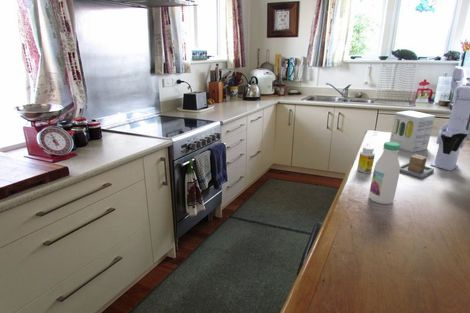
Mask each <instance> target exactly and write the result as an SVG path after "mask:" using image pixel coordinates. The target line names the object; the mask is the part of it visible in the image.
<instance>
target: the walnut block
mask: <svg viewBox="0 0 470 313" xmlns="http://www.w3.org/2000/svg"><path fill="white" fill-rule="evenodd" d="M427 159H428V157H427V156H423V155H420V154H416V153H415V154H413V155H411V156H410V159H409V161H408V162H409V166H408V170H410V171H413V172H416V173H421V172H422V171H424V168H425V166H426V164H427V161H428V160H427Z"/></svg>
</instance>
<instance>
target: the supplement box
mask: <svg viewBox="0 0 470 313" xmlns="http://www.w3.org/2000/svg"><path fill="white" fill-rule="evenodd" d="M435 118H436V115H435V114H429V113H426V112H425V113H424V112H420V111H415V110H403V111H397V112H394V118H393V122H392V127H391V133H390V138H389V142H394V143H398V144H399V145H400V148H399V150H402V151H403V150H404V151H406V152H410V153H414V152H419V151H423V150H428V147H429V143H430V138H431V136H432V130H433V125H434V122H435Z"/></svg>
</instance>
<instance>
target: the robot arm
mask: <svg viewBox="0 0 470 313" xmlns="http://www.w3.org/2000/svg"><path fill="white" fill-rule="evenodd" d="M450 88H451V89H453V90H454V95H453V104H452V107H451V112H450V115H449V120H448V123H446V124H444V125H442V126H440V128H439V131H438V134H437V138H436V142H435V143H436V144H437V145H438V148H437V151H436V152H437V153H436V156H435V159H434V162H432V163H430V166H432V167H435V168H439V169H442V170H443V169H444V170H447V171H450V172H451V171H452V170H454V169H456V168H457V167H459V164H458V163H457V162H458V158H459V155H460V149H462V148H464V147H465V143H466V141H467V137H468V134H469V131H468V130H467V125H468V122H469V119H470V118H469V117H470V66H458V65H456V66H455V67H454V69H453V72H452V75H451V82H450Z"/></svg>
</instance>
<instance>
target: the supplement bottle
mask: <svg viewBox="0 0 470 313" xmlns="http://www.w3.org/2000/svg"><path fill="white" fill-rule="evenodd" d="M375 157H376V156H375V152H374V147H372V146H369V145H365V146H363V148H362V150H361V151H360V152H359V157H358V163H357V169H356V170H357V171H358V172H359V173H364V174H370V173H371V172H372V170H373V166H374V160H375Z"/></svg>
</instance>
